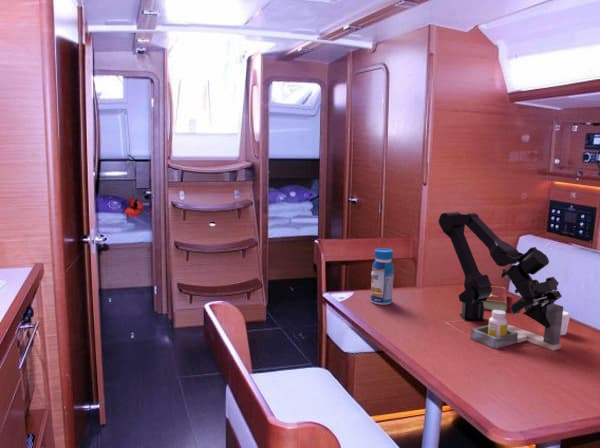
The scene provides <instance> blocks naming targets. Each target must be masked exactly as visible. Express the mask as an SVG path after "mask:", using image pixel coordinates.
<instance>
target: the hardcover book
mask: <svg viewBox="0 0 600 448" xmlns="http://www.w3.org/2000/svg"><path fill="white" fill-rule="evenodd" d="M491 288H492V292H491V294H490V296H489V297H488V298H487V300H486V301H483V306H484V310H489V311H490V310H491V311H493V310H501V311H504V312H507V311H508V298H507V297H508V296H507V288H506V287H503V286H496V285H492V286H491Z"/></svg>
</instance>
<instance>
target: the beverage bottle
mask: <svg viewBox="0 0 600 448" xmlns="http://www.w3.org/2000/svg"><path fill="white" fill-rule="evenodd" d="M393 257H394V251H393V249H390V248H385V247H383V248H382V247H380V248H379V247H378V248H376V249H374V259H375V260H374V261H373V262H372V265H371V269H372V271H371V273H370V276H371V284H370V285H371V287H370V302H371V303H373V304H376V305H382V306H384V305H390V304H391V303H393V285H394V278H395V274H394V270H395V266H394V264H393V262H392V261H393Z"/></svg>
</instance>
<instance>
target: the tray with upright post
mask: <svg viewBox="0 0 600 448" xmlns="http://www.w3.org/2000/svg"><path fill="white" fill-rule="evenodd" d="M563 310H564V306H563V305H560V304H556V303H554V304H550V305H547V312H546V319H547V320H548V322H549V324H550V327H549V328H546V327H544V331H543V336H542V335H539V334H537V333H533V332H531V331H528V330H524V329H523V328H519V327H517V326H513V325H510V324H507V335H504V336H501V337H497V338H496V337H493V336H491V335H488V326H489V324H486V325H481V326H479V327H475V328H471V330H470V339H471V340H473V341H476V342H478V343H481V344H483V345H486V346H488V347H491V348H492V349H496V350H498V349H501V348H504V347H507V346H510V345H513V344H519V343H523V342H529V343H532V344H535V345H538V346H540V347H542V348H545V349H547V350H550V351H556V350H558V349H561V348H562V343H561V342H560V339H561V335H560V332H561V323H562V315H563Z"/></svg>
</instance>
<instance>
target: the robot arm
mask: <svg viewBox="0 0 600 448" xmlns="http://www.w3.org/2000/svg"><path fill="white" fill-rule="evenodd" d="M438 225H439V227H440V229H441V230H442V232H443V233H444V234H445V235H446V236H447V237H448V238H449V239H450V241H451V243H452V246H453V249H454V251H455V253H456V254H455V255H456V257H457V259H458V262H459V264H460V266H461V270H462V272H463V274H464V282H463V286H464V290H463V292H461V293H460V294H459V295H458V299H459V302H461V303H462V305H461V313H459V317H461V318H462V319H463V320H464V321H465V322H485V319H484V317H485V316H484V315H485V309H484V306H483V301H486V300H487V298H488V297H489V296H490V294H491V292H492V288H491V286H493V284H492V283H491V282H490V278H489V276H488V275H487V274H482V273H481V272H480V270H479V268H478V266H477V263H476V260H475V258H474V255H473V253H472V251H471V248H470V245H469V243H468V240H467V238H466V235H465V229H466V228H465V227H468V229H469V230H470V231H471V232H472V233H473V234H474V235H475V236H476V237H477V238H478V239H479V240H480V241H481V242H482V243H483V244H484V246H485V247H486V249H487V250H488V251H489V256H490V257H491V259H492V260H493V262H494V263H495V265H496V266H498V267H507V266H510V267H508V268H503V269H502V273H501V278H502V279H503V278H509V280H510V281H511V283H512V284H513V286H514V287H515V289H514V293H515V294H519V295H520V297H521V298H519V299H518V300H516V301H515V302H514V303H513V304H510V311H511V313H512V314H513V315H518V314H521V311H522V310H523V309H524V311H523V313H522V315H525V316H527V317H529V318H530V319H532V320H534V321H535V322H537V323H539V324H540V325H542V326H543V327H544V328H545V327H546V328H549V327H550V324H549V322H548V320H547V319H546V312H547V305H550V304H555V303H556V302H557V301H558V300H559V299H560V298H562V295H563V294H561V293H560V290H558V285H559V282H558V280H557V279H556V278H555V277H554V276H551V277H546V279H545V281H543V282H540V281H539V280H538V279H533V278H532V276H533V275H536V274H537V273H539V271H541V270H542V269H544V268H545V267H547V266H548V265H549V263H550V260H549V258H548V256H547V254H545V253H544V252H543V251H541V250H539V249H537V247H536V246H533V247H530V248H529V249H528V250H527V251H526V252H524V253H523V252H520V251H519V250H518V249H517V248H516V247H514V246H513V245H511V244H510V243H508V242H506V241H504V240H502V239H501V238H500V237H498V236H497V234H496V233H494V231H493V230H492V229H491V228H490V227H489V226H488V225H487V224H486V223H485V222H484V221H483V220H482V219H481V218H480V217H479V214H478V213H476V212H468V213H464V214H462V213H460V212H458V211H452V212H451V211H449V212H443V213H441V214H440V216H439V218H438ZM517 263H518V264H517ZM531 275H532V276H531Z"/></svg>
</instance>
